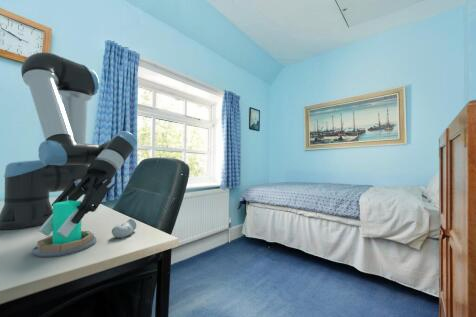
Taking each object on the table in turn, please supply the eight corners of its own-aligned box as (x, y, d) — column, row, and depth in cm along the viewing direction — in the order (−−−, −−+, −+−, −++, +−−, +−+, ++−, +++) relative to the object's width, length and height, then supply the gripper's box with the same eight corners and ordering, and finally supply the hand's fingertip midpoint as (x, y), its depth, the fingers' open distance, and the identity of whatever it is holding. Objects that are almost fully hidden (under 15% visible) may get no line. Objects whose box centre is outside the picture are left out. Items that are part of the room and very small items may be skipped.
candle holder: (29, 247, 55) (29, 238, 55) (88, 234, 65) (88, 227, 65) (37, 262, 46) (37, 252, 46) (103, 245, 56) (103, 236, 56)
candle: (68, 246, 53) (69, 198, 53) (45, 246, 53) (46, 198, 53) (86, 237, 59) (87, 194, 59) (65, 237, 59) (66, 194, 59)
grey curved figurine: (120, 244, 60) (107, 237, 62) (140, 234, 68) (127, 228, 69) (124, 230, 60) (110, 223, 61) (143, 222, 68) (130, 216, 69)
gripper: (135, 174, 70) (92, 242, 53) (89, 173, 73) (34, 238, 56) (124, 158, 65) (73, 228, 48) (74, 158, 67) (10, 224, 51)
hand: (52, 233), depth 52 cm, fingers closed on candle, 5 cm apart
